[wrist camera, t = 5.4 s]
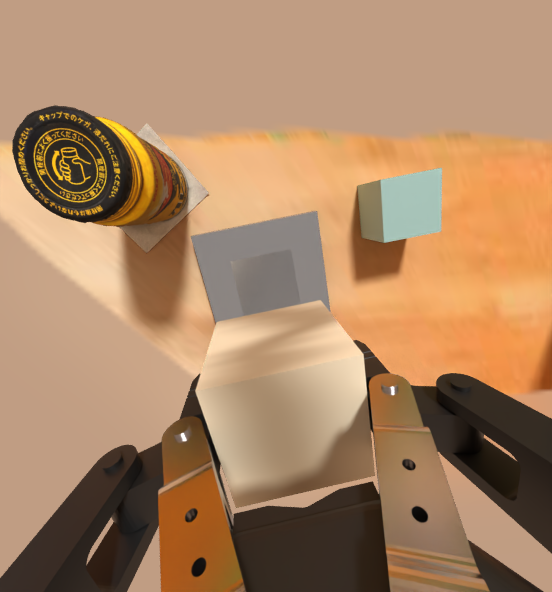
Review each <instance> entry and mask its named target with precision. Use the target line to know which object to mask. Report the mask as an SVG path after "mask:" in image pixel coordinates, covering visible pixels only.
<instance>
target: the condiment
mask: <svg viewBox="0 0 552 592" xmlns="http://www.w3.org/2000/svg"><path fill="white" fill-rule="evenodd" d="M12 152H13V155H14V160H15V163H16V167H17V170H18V173H19V175H20V177H21V179H22V182H23V184H24V186H25V188H26V189H27V190H28V191H29V193H30V194H31V195H32V196H33V197H34V198H35V199H36V200H37V201H38V202H39V203H40V204H41V205H42V206H44V207H45V208H46V209H48V210H49V211H51V212H52V213H55V214H56V215H58V216H60V217H63V218H66V219H70V220H75V221H78V222H83V223H86V222H92V223H95V224H100V225H103V226H116V227H120V228H122V230H123V231H124V232H125V233H126V234H127V235H128V236H129V237H130V238H131V239H132V240H133V241H135V242H136V243H137V244H138V246H139V247H141V248H142V249H143V250H144V251H145V252H146V253H148V252H149V251H150V250H151V249H152V248H153V247H154V246H155V245H156V244H157V243H158V242H159V241H160V240H161V239H162V238H163V237H164V236H165V235H166V234H167V233H168V232H169V231H170V230H171V229H172V228H173V227H175V226H176V225H177V224H178V223H179V222H180V221H181V220H182V219H183V218H184V217H185V216H186V215H187V214H188V213H189V212H190V211H191V210H192V209H193V208H194V207H195V206H196V205H197V204H198V203H199V202H201V201H202V200H203V199H204V198H205V197H206V196H207V195H208V193H209V192H208V191H207V190H206V189H205V188H204V187H203V186H202V185H201V183H200V182H199V181H198V180H197V179H196V178H195V177H194V175H193V174H192V173H191V172H190V171H189V170H188V169H187V167H186V166H185V165H184V164H183V163H182V162H181V161H180V160H179V158H178V157H177V156H176V155H175V154H174V153H173V152H172V151H171V149H170V148H169V147H168V146H167V145H166V144H165V143H164V141H163V140H162V139H161V138H160V137H159V136H158V135H157V134H156V133H155V131H153V129H152V128H151V127H150V126H149V125H148V124H146V125H145V126H144V127H143V128H142V129H141V130H140V131H139V132H138V133H137V134H135V133H133V132H132V131H131V130H129V129H128V128H126V127H124V126H122V125H121V124H119V123H116V122H114V121H112V120H109V119H106V118H101V117H94V116H92V115H90V114H88V113H86V112H84V111H81V110H78V109H76V108H71V107H66V106H51V107H47V108H44V109H41V110H38V111H35V112H32V113H31V114H29V115H27V117H26V118H25V119H24V120H23V122H22V123H21V124H20V126H19V127H18V128H17V130H16V132H15V136H14V139H13V149H12Z"/></svg>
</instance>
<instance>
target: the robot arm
mask: <svg viewBox="0 0 552 592" xmlns="http://www.w3.org/2000/svg"><path fill="white" fill-rule="evenodd" d="M353 342H354V343H355V344H356V346H357V347H358V348H359V349H360V351H361V352H362V353H363V355H364V365H365V376H366V387H367V397H368V408H369V419H370V429H371V431H372V432H373V436H374V445H375V457H376V467H377V477H378V486H379V494H378V492H377V490H376V488H375V486H374V484H373V482H368V483H364V484H360V485H356V486H351V487H347V488H343V489H339V490H337V491H335V492H333V493H332V494H330V495H328V496H326V497H325V498H323V499H321V500H319V501H317V502H315V503H314V504H312V505H310V506H308V507H305V508H297V507H280V506H266V507H261V508H257V509H253V510H249V511H245V512H240V513H236V514H234V519H233V516H232V512H231V509H230V505H229V502H228V498H227V495H226V492H225V488H224V485H223V481H222V478H221V475H220V465H221V463H220V460H219V458H218V455H217V452H216V449H215V446H214V443H213V440H212V438H211V435H210V432H209V429H208V426H207V423H206V420H205V417H204V415H203V412H202V409H201V406H200V403H199V400H198V397H197V395H196V392H195V391H196V387H197V384H198V381H199V378H200V374H199V375H198V376H197V377H196V378H195V379H194V380H193V382H192V384H191V388H190V391H189V393H188V396H187V397H188V398H187V399H186V402H185V405H184V408H183V411H182V414H181V417H180V419H179V420H178V421H176V422H175V423H173V424H172V425H171V426H170V427H169V428H168V429H167V430H166V431H165V433H164V434H163V437H162V442H161V443H159V444H157V445H155V446H153V447H150V448H148V449H146V450H144V451H142V452H140V453H138V452H137V450H136V448H135V447H134V446H132V445H123V446H120V447H117V448H115V449H113V450H111V451H110V452H108V453H107V454H105V455H104V456H103V457H102V458H100V459H99V460H98V461H97V463H96V464H95V465H94V466H93V467H92V468H91V470H90V471H89V472H88V473H87V474H86V476H85V477H84V478H83V479H82V480H81V482H80V483H79V484H78V485H77V487H76V488H75V489H74V490H73V491H72V493H71V494H70V495H69V496H68V497H67V499H66V500H65V501H64V502H63V504H62V505H61V506H60V507H59V508H58V510H57V511H56V512H55V513H54V514H53V515H52V517H51V518H50V519H49V520H48V521H47V523H46V524H45V525H44V526H43V528H42V529H41V530H40V531H39V532H38V533H37V535H36V536H35V537H34V538H33V539H32V541H31V542H30V543H29V544H28V545H27V547H26V548H25V549H24V550H23V552H22V553H21V554H20V555H19V556H18V558H17V559H16V560H15V561H14V562H13V564H12V565H11V566H10V567H9V568H8V570H7V571H6V572H5V573H4V575H3V576H2V577H1V578H0V592H127V590H128V588H129V586H130V584H131V582H132V580H133V578H134V576H135V574H136V572H137V570H138V568H139V565H140V563H141V561H142V559H143V557H144V555H145V553H146V551H147V549H148V547H149V545H150V543H151V541H152V538H153V536H154V534H155V532H156V530H157V528H158V526H159V541H160V573H161V592H543V591H542V590H540V589H539V588H537V587H536V586H534V585H533V584H531V583H530V582H529V581H527V580H526V579H524V578H523V577H521V576H520V575H519V574H517V573H516V572H514V571H513V570H511V569H510V568H508V567H507V566H505V565H504V564H503V563H501V562H500V561H498V560H496V559H495V558H494V557H492V556H491V555H489V554H488V553H486V552H485V551H483V550H482V549H481V548H479V547H478V546H476V545H475V544H473V543H472V542H471V541H469V540H467V537H466V534H465V531H464V528H463V525H462V522H461V519H460V516H459V513H458V511H457V508H456V504H455V502H454V499H453V496H452V493H451V490H450V487H449V484H448V481H447V478H446V475H445V473H444V469H443V466H442V463H441V461H440V457H439V455H438V452H440V454H441V455H442V456H443V457H445V458H446V459H447V460H448V461H449V462H450V463H451V464H452V465H453V466H455V467H456V468H457V469H458V470H459V471H460V472H461V473H462V474H463V475H465V476H466V477H467V478H468V479H469V480H470V481H471V482H472V483H474V484H475V485H476V486H477V487H478V488H479V489H480V490H481V491H483V492H484V493H485V494H486V495H487V496H488V497H489V498H490V499H491V500H493V501H494V502H495V503H496V504H497V505H498V506H499V507H501V509H503V510H504V511H505V512H506V513H507V514H508V515H510V517H512V518H513V519H514V520H515V521H516V522H517V523H518V524H519V525H520V526H522V527H523V528H524V529H525V530H526V531H527V532H528V533H529V534H531V535H532V536H533V537H534V538H535V539H536V540H537V541H538V542H539V543H541V544H542V545H543V546H544V547H545V548H546V549H547V550H548V551H550V552H551V553H552V419H551V418H549V417H547V416H545V415H543V414H541V413H539V412H538V411H536V410H534V409H532V408H530V407H528V406H526V405H524V404H522V403H521V402H519V401H517V400H515V399H513V398H511V397H509V396H507V395H505V394H504V393H502V392H500V391H498V390H496V389H494V388H492V387H490V386H488V385H487V384H485V383H483V382H481V381H479V380H477V379H475V378H473V377H470V376H467V375H464V374H457V373H450V374H444V375H442V376H440V377H439V378H438V379H437V381H436V386H412V385H410V383H409V382H408V381H407V380H406V379H405V378H403V377H401V376H399V375H395V374H390V372H389V371H388V370H387V369H386V368H385V367H384V365H383V364H382V363H381V362H380V361H379V360H378V359H377V357H375V355H374V354H373V353H372V352H371V350H370V349H369V348H368V347H367V346H366V345H365V344H364V343H362V342H360V341H357V340H354V341H353ZM484 435H486V436H487V437H489V438H490V439H492V440H493V441H494V442H496V443H497V444H499V445H500V446H502V447H503V448H504V449H506V450H507V451H508V452H510V453H511V454H512V455H513V456H514V457H515V459H516V460H517V461H518V462H517V461H516V460H514V459H513V458H511V457H510V456H509V455H507V454H506V453H504V452H503V451H502V450H500V449H499V448H497V447H496V446H494V445H493V444H491V443H490V442H489V441H487V440H486V439H485V438H484ZM111 517H112V519H113V521H114V522H113V524H112V526H111V527H110V529H109V530H108V532H107V534H106V535H105V537H104V538H103V540H102V542H101V543H100V545H99V546H98V548H97V550H96V551H95V553H94V554H93V556H92V558H91V559H90V561H89V562H88V564H87V566H86V563H87V558H88V554H89V552H90V550H91V548H92V546H93V545H94V543H95V541H96V540H97V538H98V537H99V535H100V534H101V532H102V531H103V529H104V527H105V526H106V524H107V523H108V521H109V520H110V518H111Z"/></svg>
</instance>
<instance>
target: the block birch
mask: <svg viewBox="0 0 552 592" xmlns="http://www.w3.org/2000/svg"><path fill="white" fill-rule="evenodd" d="M195 392H196V395H197V397H198V400H199V403H200V406H201V409H202V412H203V415H204V417H205V420H206V423H207V426H208V429H209V432H210V435H211V438H212V440H213V443H214V446H215V449H216V452H217V455H218V458H219V460H220V463H221V466H222V469H223V472H224V475H225V477H226V481H227V483H228V486H229V489H230V492H231V495H232V498H233V501H234V503H235V506H236V508H238V507H242V506H247V505H251V504H255V503H260V502H264V501H268V500H273V499H277V498H281V497H285V496H290V495H294V494H298V493H303V492H307V491H311V490H316V489H320V488H324V487H328V486H332V485H337V484H341V483H345V482H350V481H354V480H358V479H363V478H367V477H371V476H375V472H374V461H373V451H372V440H371V429H370V419H369V408H368V397H367V387H366V376H365V365H364V355H363V353H362V352H361V351H360V349H359V348H358V347H357V346H356V344H355V343H354V342H353V340H352V339H351V338H350V337H349V335H348V334H347V333H346V332H345V330H344V329H343V328H342V327H341V325H340V324H339V323H338V322H337V320H336V319H335V318H334V316H333V315H332V314H331V313H330V311H329V310H328V309H327V308H326V306H325V305H324V304H323V303H322V301H321V300H318V301H313V302H308V303H304V304H299V305H294V306H290V307H285V308H280V309H275V310H271V311H266V312H261V313H257V314H252V315H247V316H242V317H238V318H233V319H228V320H224V321H219V322H217V323H216V326H215V329H214V332H213V335H212V339H211V342H210V345H209V348H208V352H207V355H206V358H205V361H204V365H203V368H202V371H201V374H200V378H199V381H198V384H197V387H196V391H195Z"/></svg>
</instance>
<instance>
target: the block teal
mask: <svg viewBox="0 0 552 592" xmlns="http://www.w3.org/2000/svg"><path fill="white" fill-rule="evenodd" d="M357 189H358V201H359V213H360V225H361V237H362V238H365V239H369V240H374V241H378V242H382V243H386V242H391V241H396V240H401V239H406V238H411V237H416V236H421V235H426V234H431V233H436V232H441V200H442V168H438V169H433V170H428V171H423V172H418V173H413V174H408V175H403V176H398V177H393V178H388V179H383V180H378V181H375V182H371V183H367V184H363V185H359V186H357Z"/></svg>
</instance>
